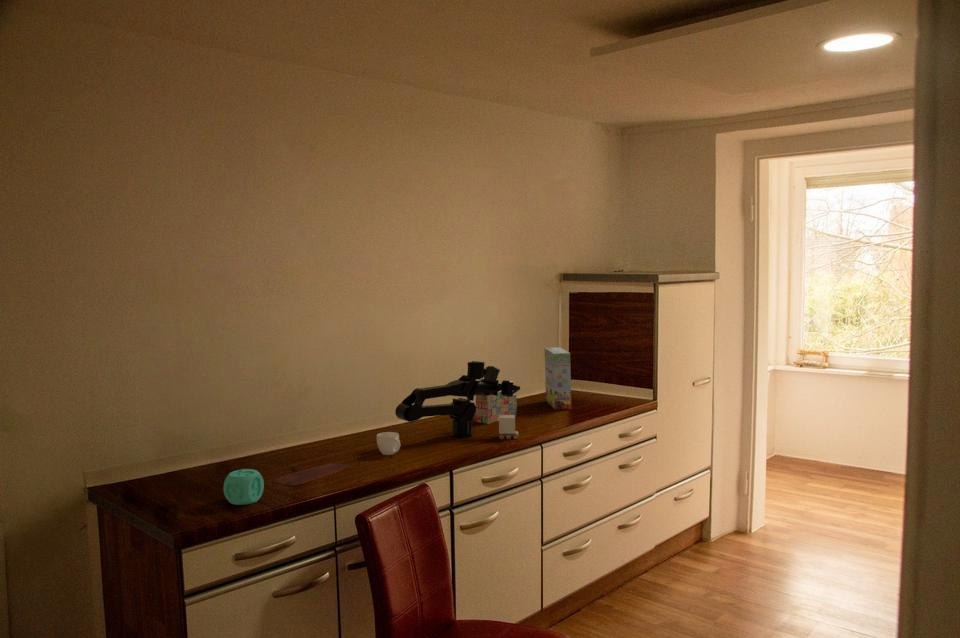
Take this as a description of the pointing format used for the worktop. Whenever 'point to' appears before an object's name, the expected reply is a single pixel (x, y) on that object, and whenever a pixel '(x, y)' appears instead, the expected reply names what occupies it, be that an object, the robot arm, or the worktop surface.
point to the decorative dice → (243, 486)
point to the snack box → (558, 378)
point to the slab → (506, 424)
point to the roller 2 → (516, 435)
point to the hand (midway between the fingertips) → (512, 387)
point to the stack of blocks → (494, 407)
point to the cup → (388, 442)
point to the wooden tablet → (310, 474)
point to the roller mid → (508, 436)
